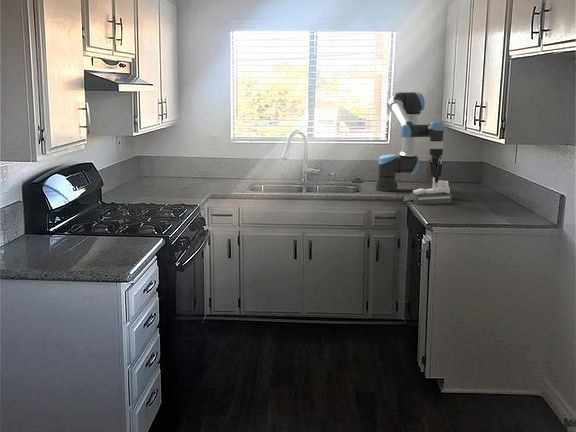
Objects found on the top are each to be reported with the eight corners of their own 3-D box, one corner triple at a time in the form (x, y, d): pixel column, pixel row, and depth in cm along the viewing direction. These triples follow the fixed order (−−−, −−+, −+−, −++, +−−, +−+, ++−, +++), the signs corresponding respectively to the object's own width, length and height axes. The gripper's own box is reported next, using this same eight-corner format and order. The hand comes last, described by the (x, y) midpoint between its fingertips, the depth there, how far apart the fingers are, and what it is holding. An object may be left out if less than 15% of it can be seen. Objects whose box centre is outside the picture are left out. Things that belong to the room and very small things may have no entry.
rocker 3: (435, 190, 387) (436, 187, 387) (444, 191, 389) (444, 188, 389) (439, 191, 382) (440, 188, 382) (448, 192, 384) (449, 190, 384)
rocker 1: (413, 193, 383) (412, 190, 383) (422, 190, 385) (421, 187, 384) (416, 194, 379) (416, 191, 378) (426, 191, 380) (425, 189, 379)
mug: (454, 199, 397) (455, 182, 395) (443, 200, 393) (444, 183, 391) (441, 196, 407) (442, 180, 405) (431, 197, 404) (431, 180, 402)
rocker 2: (424, 192, 385) (424, 189, 385) (433, 190, 387) (433, 187, 386) (428, 193, 380) (428, 190, 380) (437, 191, 382) (437, 188, 382)
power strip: (400, 202, 384) (400, 193, 383) (443, 200, 392) (444, 191, 391) (407, 205, 376) (407, 196, 375) (451, 202, 384) (452, 193, 383)
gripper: (425, 147, 385) (424, 186, 389) (436, 149, 372) (435, 189, 377) (436, 147, 387) (435, 186, 391) (447, 148, 374) (446, 189, 379)
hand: (435, 188), depth 384 cm, fingers closed
